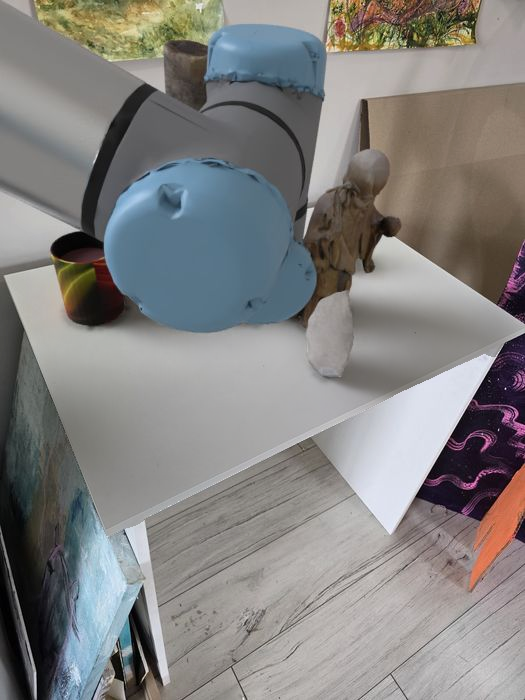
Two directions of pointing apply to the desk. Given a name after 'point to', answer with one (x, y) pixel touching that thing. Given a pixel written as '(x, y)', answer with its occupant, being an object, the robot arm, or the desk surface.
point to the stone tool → (330, 335)
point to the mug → (86, 280)
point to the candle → (186, 72)
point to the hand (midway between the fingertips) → (191, 117)
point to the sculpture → (347, 227)
